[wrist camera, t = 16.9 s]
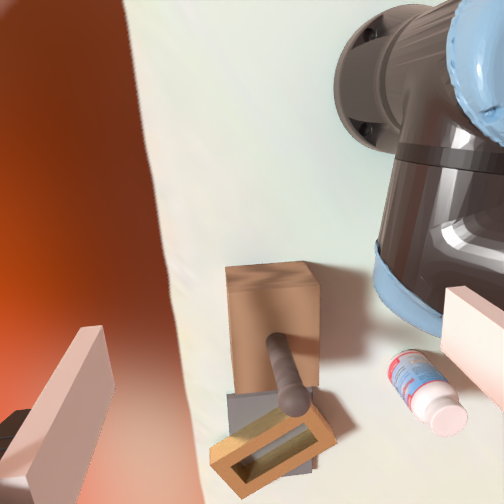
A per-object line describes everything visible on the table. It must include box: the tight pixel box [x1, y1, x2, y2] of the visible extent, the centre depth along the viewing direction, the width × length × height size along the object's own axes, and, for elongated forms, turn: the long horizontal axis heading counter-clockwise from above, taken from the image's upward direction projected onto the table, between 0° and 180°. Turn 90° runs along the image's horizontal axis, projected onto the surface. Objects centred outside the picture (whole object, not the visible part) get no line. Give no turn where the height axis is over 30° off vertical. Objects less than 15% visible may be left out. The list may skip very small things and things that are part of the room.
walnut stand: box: [225, 261, 320, 418], centre depth 44 cm, size 10×13×20 cm
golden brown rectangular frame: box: [210, 401, 337, 499], centre depth 58 cm, size 8×16×3 cm, turn 123°
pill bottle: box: [387, 350, 468, 437], centre depth 54 cm, size 6×6×11 cm
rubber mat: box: [227, 387, 312, 477], centre depth 60 cm, size 12×15×1 cm
